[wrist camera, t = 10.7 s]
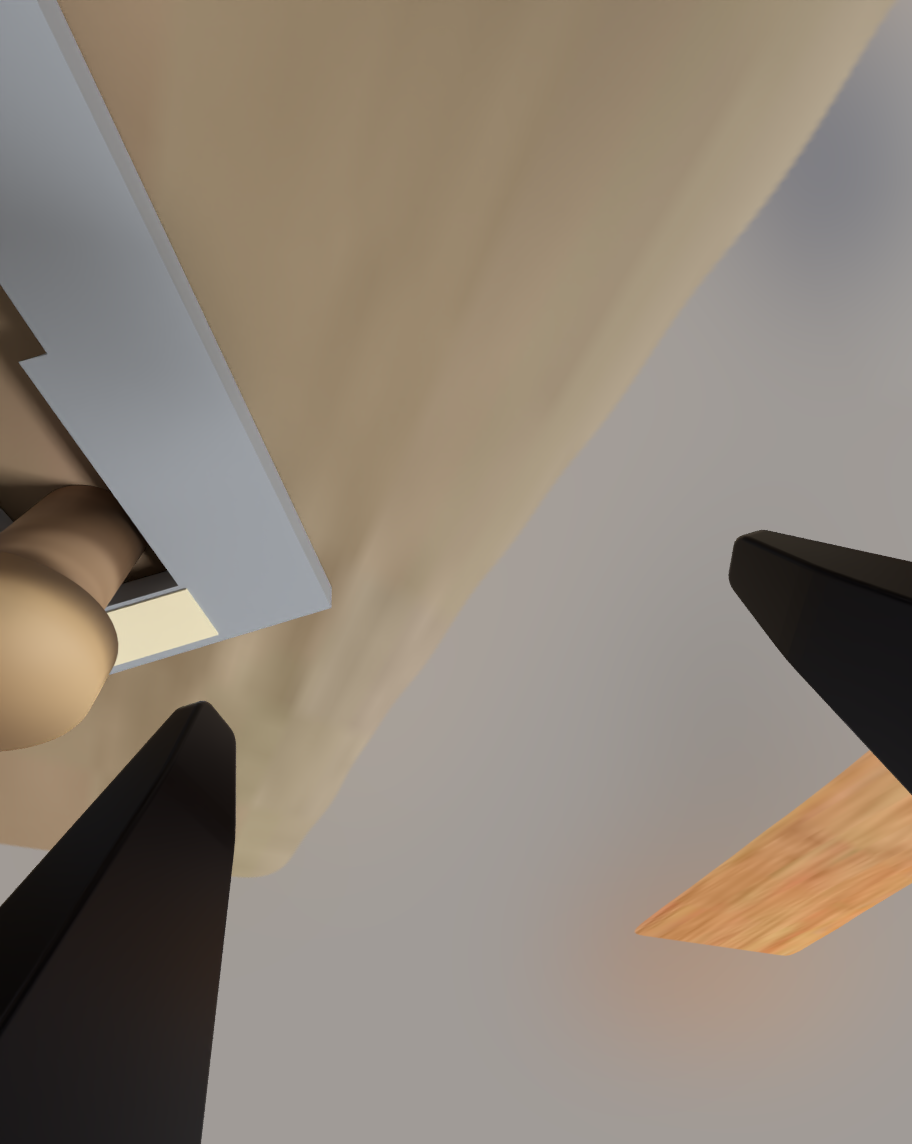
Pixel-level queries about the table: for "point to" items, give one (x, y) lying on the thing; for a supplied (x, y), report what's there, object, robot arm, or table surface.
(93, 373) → the keyhole board
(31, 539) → the peg
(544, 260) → the table surface
